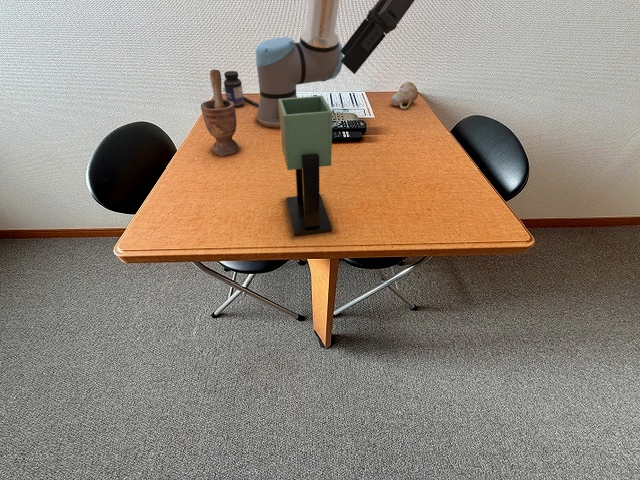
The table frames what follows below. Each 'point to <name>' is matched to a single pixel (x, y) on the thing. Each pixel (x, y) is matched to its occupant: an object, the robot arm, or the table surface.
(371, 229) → the table surface
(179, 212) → the table surface
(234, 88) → the pill bottle
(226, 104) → the mortar and pestle
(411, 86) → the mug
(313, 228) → the stand
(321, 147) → the green square planter
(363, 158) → the table surface
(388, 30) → the robot arm
